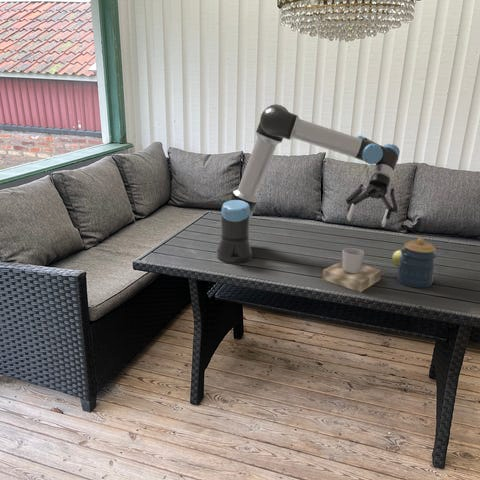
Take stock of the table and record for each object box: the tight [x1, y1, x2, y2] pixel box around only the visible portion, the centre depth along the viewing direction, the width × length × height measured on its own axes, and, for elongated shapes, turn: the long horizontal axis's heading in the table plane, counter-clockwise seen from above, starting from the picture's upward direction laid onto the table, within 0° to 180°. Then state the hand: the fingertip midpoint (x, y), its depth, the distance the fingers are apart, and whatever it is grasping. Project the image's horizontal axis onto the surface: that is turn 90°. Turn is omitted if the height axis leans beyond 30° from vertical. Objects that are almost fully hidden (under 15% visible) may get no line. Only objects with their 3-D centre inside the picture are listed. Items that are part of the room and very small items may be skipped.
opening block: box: [322, 260, 382, 293], centre depth 173 cm, size 16×16×4 cm
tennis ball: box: [391, 249, 402, 266], centre depth 191 cm, size 6×7×7 cm
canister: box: [396, 237, 438, 289], centre depth 172 cm, size 13×13×18 cm
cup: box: [341, 247, 365, 273], centre depth 172 cm, size 11×8×8 cm
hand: (365, 222), depth 176 cm, fingers open, 13 cm apart
